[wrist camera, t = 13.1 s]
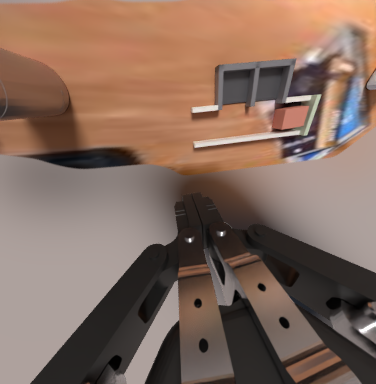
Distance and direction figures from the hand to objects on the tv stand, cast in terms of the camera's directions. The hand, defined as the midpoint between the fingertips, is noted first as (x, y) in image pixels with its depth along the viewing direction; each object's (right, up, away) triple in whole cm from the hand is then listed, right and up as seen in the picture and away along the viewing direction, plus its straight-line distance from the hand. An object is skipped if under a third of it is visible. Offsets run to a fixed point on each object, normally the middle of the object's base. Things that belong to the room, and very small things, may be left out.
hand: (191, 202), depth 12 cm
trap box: (+16, +23, +24) cm, 37 cm away
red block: (+26, +21, +27) cm, 43 cm away
